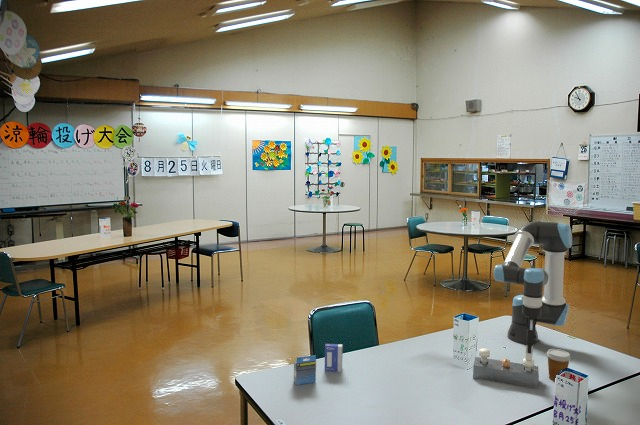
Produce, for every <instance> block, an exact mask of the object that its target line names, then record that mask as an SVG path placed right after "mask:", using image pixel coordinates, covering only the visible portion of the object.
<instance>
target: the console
mask: <svg viewBox="0 0 640 425" xmlns="http://www.w3.org/2000/svg"><path fill="white" fill-rule="evenodd" d="M472 367H473V369H472V379H473V380H479V381H485V382H492V383H495V384H496V383H497V384H503V385H510V386H514V387H515V386H516V387H520V388H525V389H526V388H527V389H533V390H537V391H538V390H539V378H540V376H539V375H540V374H539V366H538V365H534V367H531V371H525V366H524V365H523V363H519V362H512V361H510V367H503V366H502V360H499V359H493V358H487V364H481V356H475V357H474V362H473V366H472Z"/></svg>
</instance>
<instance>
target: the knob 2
mask: <svg viewBox="0 0 640 425" xmlns="http://www.w3.org/2000/svg"><path fill="white" fill-rule="evenodd" d="M522 364H523V365H524V366H525V371H531V367H534V366H535V359H533V358H532V361H531V360H525V357H523V359H522Z"/></svg>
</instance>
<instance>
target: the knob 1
mask: <svg viewBox="0 0 640 425" xmlns="http://www.w3.org/2000/svg"><path fill="white" fill-rule="evenodd" d="M490 354H491V350H490V349H489V348H484V347H483V348H479V349H478V357H481V364H487V359H488V358H490Z"/></svg>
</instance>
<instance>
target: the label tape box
mask: <svg viewBox="0 0 640 425" xmlns="http://www.w3.org/2000/svg"><path fill="white" fill-rule="evenodd" d="M295 361H296V362H294V363H293V383H294V384H295V385H296V386H301V385H306V384H312V383H316V382H317V380H316V377H317V355H316V354H314V355H306V356H298V357H297V356H296V360H295Z"/></svg>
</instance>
